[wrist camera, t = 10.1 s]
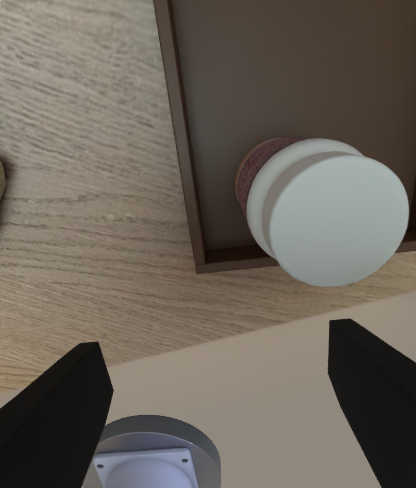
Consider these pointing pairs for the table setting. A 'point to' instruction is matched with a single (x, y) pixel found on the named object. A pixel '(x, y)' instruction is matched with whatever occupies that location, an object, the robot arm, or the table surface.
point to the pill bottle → (322, 208)
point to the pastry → (2, 179)
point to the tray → (282, 99)
